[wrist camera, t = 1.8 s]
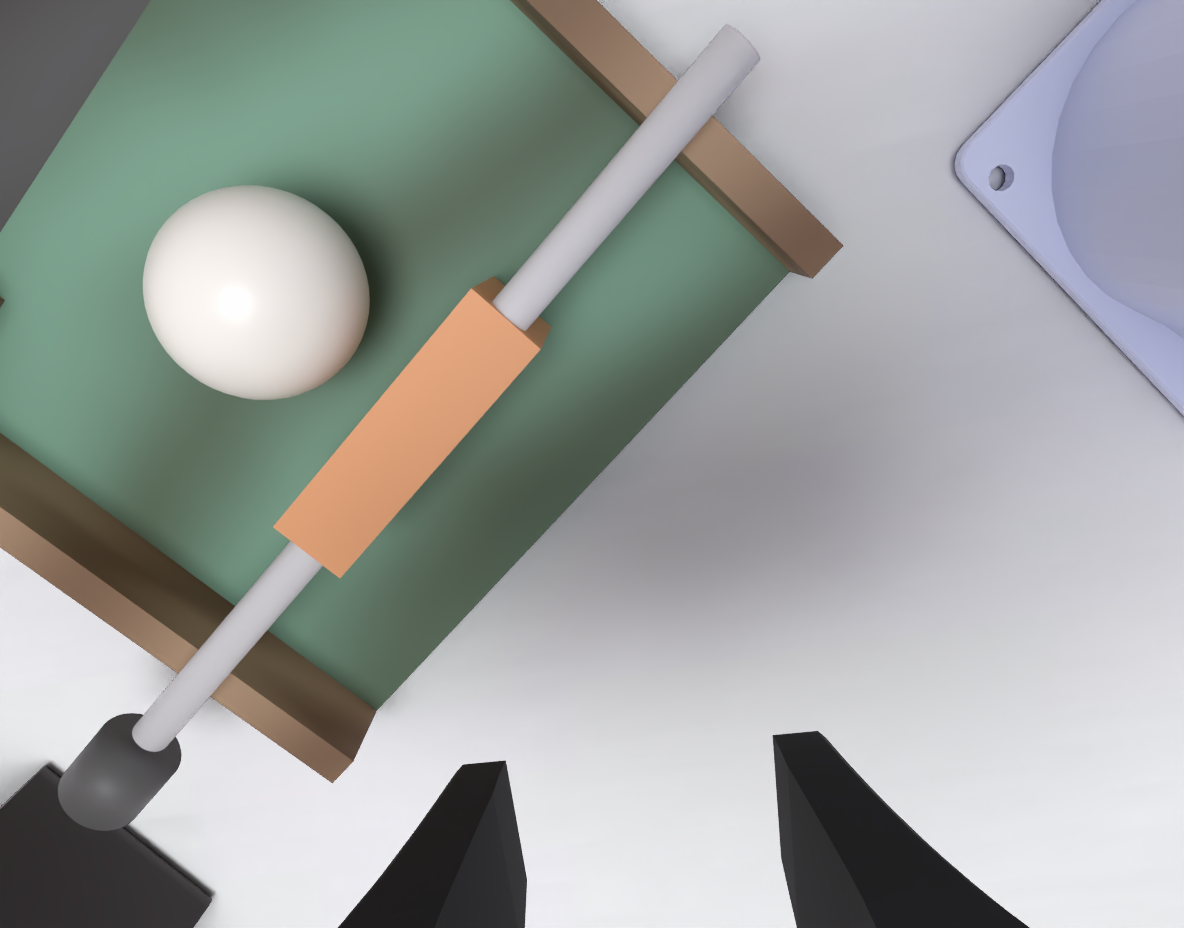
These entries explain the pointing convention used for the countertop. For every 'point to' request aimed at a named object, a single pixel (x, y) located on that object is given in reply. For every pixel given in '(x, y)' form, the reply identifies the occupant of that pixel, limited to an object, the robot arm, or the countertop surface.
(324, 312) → the ball
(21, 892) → the phone stand
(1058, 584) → the countertop surface
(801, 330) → the countertop surface
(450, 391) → the kicker
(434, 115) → the pitch
